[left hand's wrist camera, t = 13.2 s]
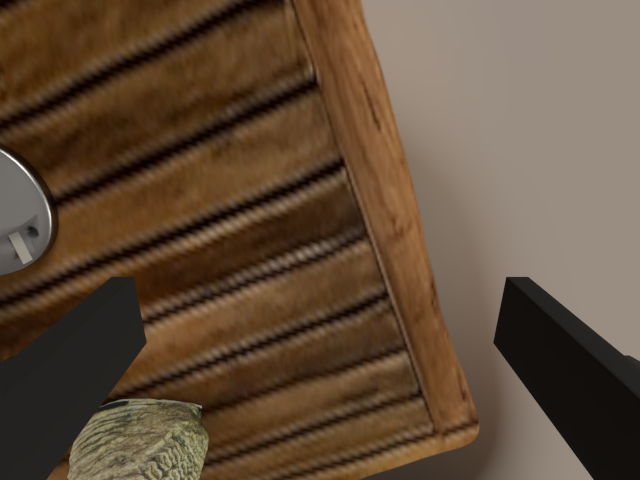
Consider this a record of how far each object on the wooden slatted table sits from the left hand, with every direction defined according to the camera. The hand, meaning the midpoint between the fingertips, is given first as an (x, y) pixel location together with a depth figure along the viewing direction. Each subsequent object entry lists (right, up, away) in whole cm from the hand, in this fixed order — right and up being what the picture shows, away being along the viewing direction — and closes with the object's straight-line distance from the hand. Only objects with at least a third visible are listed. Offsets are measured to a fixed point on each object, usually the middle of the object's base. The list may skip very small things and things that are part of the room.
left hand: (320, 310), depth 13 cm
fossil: (-23, -22, +38) cm, 50 cm away
